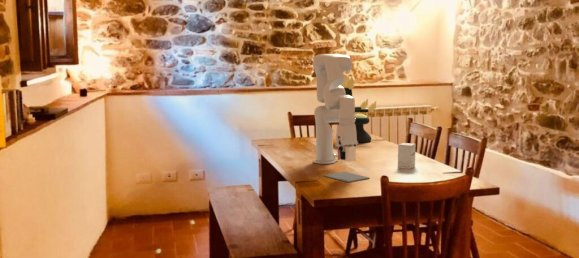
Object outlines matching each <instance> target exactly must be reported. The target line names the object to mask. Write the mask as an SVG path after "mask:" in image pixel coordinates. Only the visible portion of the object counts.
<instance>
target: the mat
mask: <svg viewBox="0 0 579 258" xmlns="http://www.w3.org/2000/svg"><path fill="white" fill-rule="evenodd" d="M323 177H325V178H329V179H333V180H337V181H341V182H343V183H348V184H349V183H355V182H360V181H364V180H369V179H370V177H369V176H364V175H361V174H357V173H356V174H355V173H352V172H348V171H341V172H340V171H339V172H334V173H329V174H324V175H323ZM359 180H360V181H359ZM354 181H355V182H354Z"/></svg>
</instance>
